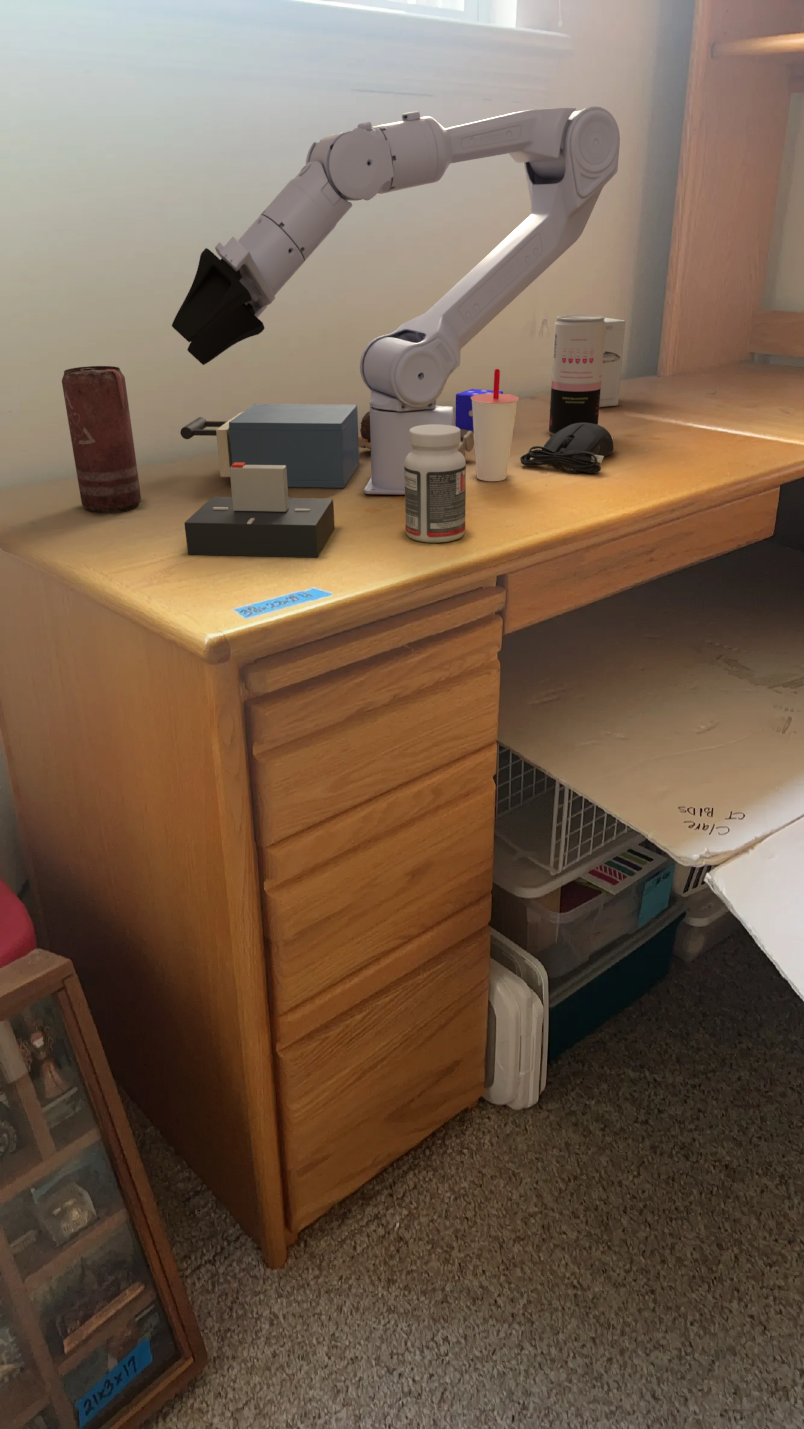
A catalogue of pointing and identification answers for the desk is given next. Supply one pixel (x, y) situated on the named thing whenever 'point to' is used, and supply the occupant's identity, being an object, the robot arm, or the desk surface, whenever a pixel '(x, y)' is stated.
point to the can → (102, 438)
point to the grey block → (259, 487)
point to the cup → (493, 431)
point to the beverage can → (576, 370)
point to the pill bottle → (435, 484)
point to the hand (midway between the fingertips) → (188, 346)
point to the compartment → (299, 441)
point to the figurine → (365, 441)
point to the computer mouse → (574, 448)
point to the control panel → (260, 529)
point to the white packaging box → (612, 362)
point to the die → (467, 408)
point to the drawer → (223, 439)
